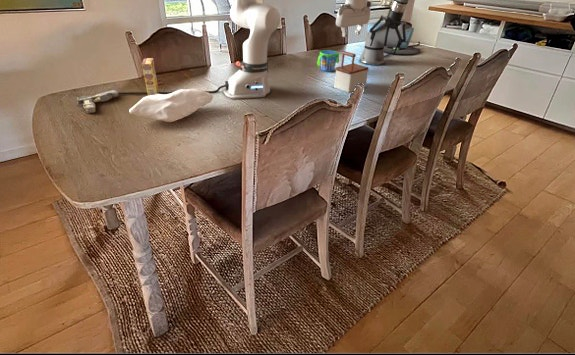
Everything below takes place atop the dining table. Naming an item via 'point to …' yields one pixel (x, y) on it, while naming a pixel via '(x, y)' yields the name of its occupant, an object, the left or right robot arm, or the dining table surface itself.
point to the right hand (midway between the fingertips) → (382, 49)
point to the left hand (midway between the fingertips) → (350, 35)
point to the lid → (350, 65)
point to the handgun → (95, 100)
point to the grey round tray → (401, 50)
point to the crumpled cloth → (171, 104)
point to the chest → (349, 80)
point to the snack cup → (328, 60)
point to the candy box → (150, 76)
